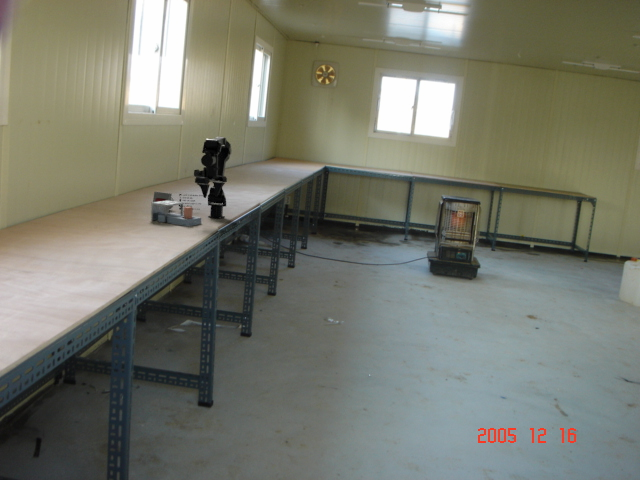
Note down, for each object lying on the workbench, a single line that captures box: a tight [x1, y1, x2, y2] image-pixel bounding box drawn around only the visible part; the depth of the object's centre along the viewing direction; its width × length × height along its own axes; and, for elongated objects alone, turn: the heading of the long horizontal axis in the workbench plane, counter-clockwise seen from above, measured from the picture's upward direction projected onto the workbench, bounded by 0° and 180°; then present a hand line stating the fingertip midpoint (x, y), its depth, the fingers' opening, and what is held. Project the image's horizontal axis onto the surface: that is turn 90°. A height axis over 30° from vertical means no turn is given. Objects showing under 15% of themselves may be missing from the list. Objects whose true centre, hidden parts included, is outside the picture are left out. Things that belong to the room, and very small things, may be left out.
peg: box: [183, 206, 194, 219], centre depth 280 cm, size 4×4×8 cm
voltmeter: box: [152, 191, 203, 213], centre depth 316 cm, size 27×11×10 cm, turn 105°
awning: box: [150, 200, 184, 224], centre depth 285 cm, size 13×9×9 cm
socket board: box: [157, 212, 202, 227], centre depth 283 cm, size 10×18×3 cm, turn 64°
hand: (210, 197), depth 288 cm, fingers open, 9 cm apart
